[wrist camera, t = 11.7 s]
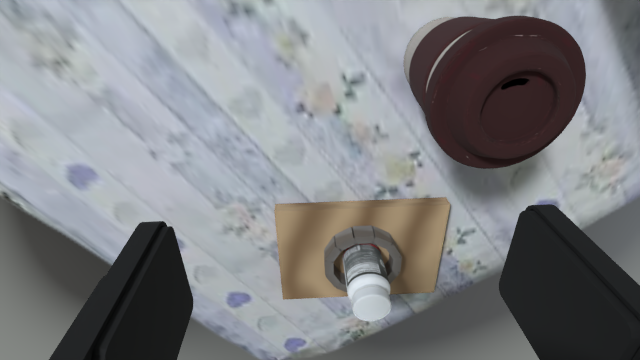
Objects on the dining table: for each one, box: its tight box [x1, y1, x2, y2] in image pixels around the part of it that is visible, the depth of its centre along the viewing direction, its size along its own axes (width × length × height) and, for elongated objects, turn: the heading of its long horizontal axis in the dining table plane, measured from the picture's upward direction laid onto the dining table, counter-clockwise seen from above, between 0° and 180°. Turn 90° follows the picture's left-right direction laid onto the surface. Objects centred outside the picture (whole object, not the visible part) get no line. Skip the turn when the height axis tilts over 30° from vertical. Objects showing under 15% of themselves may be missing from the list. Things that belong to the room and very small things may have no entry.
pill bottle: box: [343, 243, 391, 321], centre depth 42 cm, size 5×5×8 cm
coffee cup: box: [404, 16, 586, 169], centre depth 29 cm, size 10×10×15 cm
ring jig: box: [275, 197, 450, 299], centre depth 45 cm, size 20×14×4 cm
